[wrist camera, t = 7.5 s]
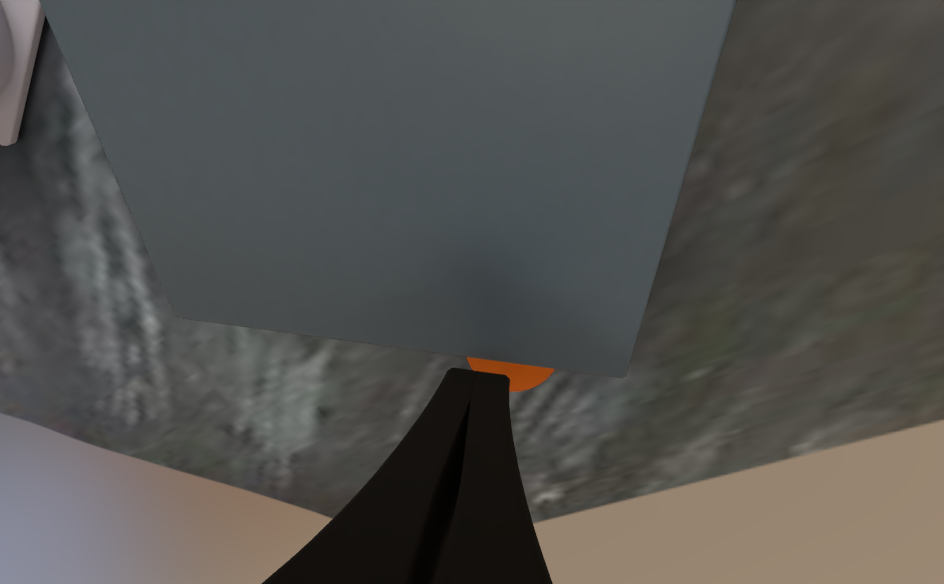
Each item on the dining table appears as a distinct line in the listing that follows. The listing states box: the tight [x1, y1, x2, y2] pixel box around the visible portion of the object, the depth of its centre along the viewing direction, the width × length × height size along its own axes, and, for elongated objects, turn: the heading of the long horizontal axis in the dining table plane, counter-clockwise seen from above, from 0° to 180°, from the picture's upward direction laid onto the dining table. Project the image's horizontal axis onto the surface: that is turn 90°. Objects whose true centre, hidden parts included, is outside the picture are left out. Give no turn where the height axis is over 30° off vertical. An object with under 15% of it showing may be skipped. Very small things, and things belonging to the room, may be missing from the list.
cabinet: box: [39, 0, 737, 378], centre depth 12 cm, size 14×12×8 cm
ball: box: [467, 357, 555, 392], centre depth 20 cm, size 4×4×4 cm
